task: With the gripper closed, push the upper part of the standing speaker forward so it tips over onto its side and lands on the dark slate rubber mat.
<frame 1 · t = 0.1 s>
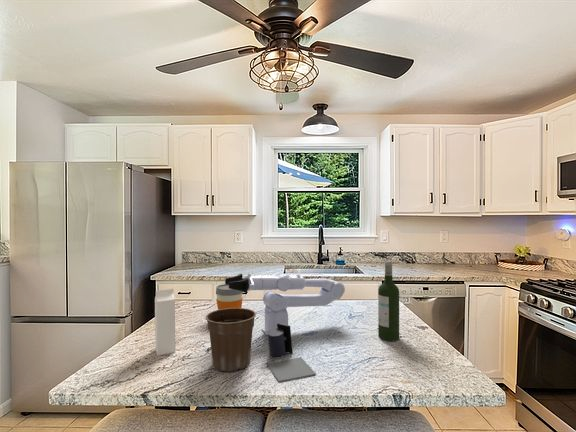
hand: (227, 283, 128), 22 cm above the countertop, tool horizontal, fingers open, 7 cm apart
plant pot: (231, 363, 106), on the countertop
wine bottle: (388, 338, 127), on the countertop
milk: (165, 351, 116), on the countertop
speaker: (279, 355, 112), on the countertop
mat: (290, 369, 102), on the countertop
reusable coffee cup: (229, 318, 151), on the countertop
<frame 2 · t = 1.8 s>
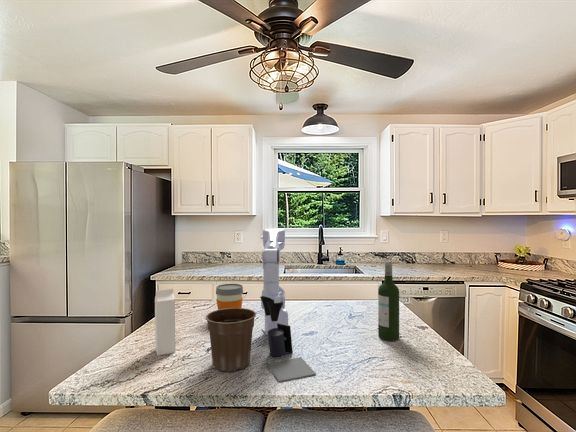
hand: (271, 318, 120), 10 cm above the countertop, tool pointing down, fingers open, 7 cm apart
nothing on the countertop moved.
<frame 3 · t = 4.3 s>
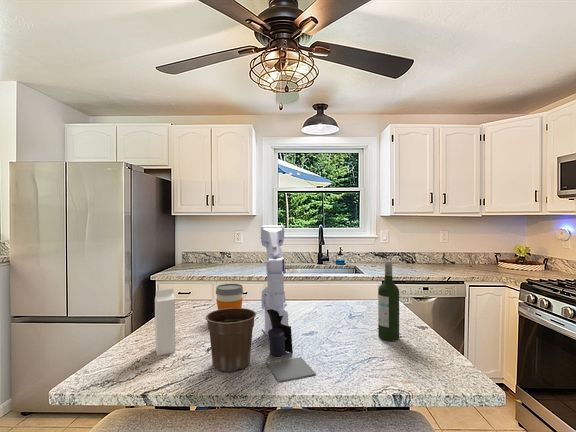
hand: (275, 330, 115), 7 cm above the countertop, tool pointing down, fingers closed
nothing on the countertop moved.
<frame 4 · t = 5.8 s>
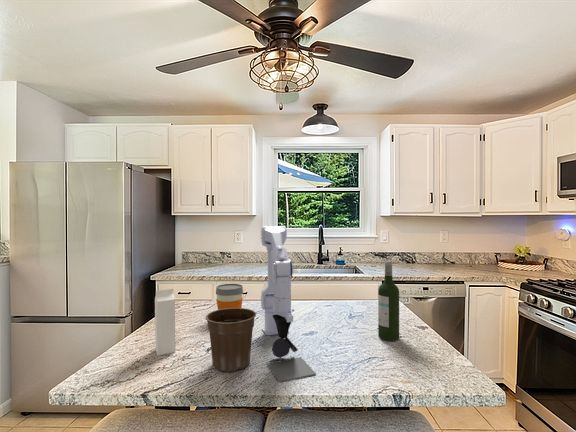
hand: (282, 337, 108), 8 cm above the countertop, tool pointing down, fingers closed
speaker: (280, 351, 111), point 2 cm above the countertop, touching gripper
everything else where it was.
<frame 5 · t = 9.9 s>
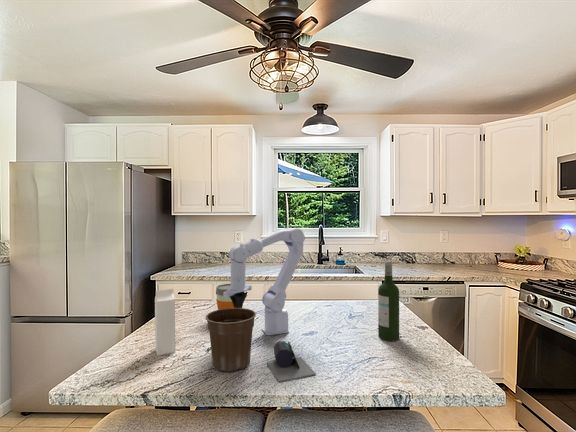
hand: (238, 311, 127), 10 cm above the countertop, tool pointing down, fingers closed
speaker: (281, 351, 111), point 2 cm above the countertop, touching mat
everything else where it was.
at the end: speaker tilted 82°; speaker inside the target area (4.8 cm from its centre), point 2.0 cm above the countertop; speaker touching mat, countertop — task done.
